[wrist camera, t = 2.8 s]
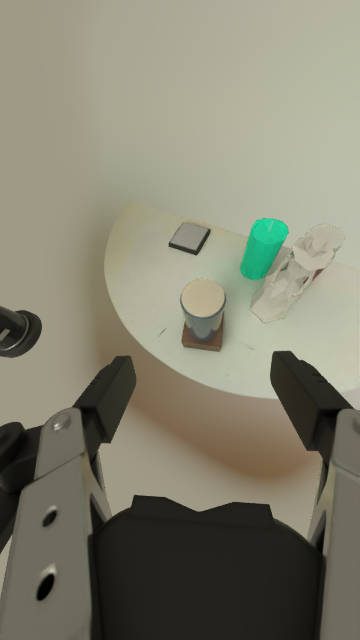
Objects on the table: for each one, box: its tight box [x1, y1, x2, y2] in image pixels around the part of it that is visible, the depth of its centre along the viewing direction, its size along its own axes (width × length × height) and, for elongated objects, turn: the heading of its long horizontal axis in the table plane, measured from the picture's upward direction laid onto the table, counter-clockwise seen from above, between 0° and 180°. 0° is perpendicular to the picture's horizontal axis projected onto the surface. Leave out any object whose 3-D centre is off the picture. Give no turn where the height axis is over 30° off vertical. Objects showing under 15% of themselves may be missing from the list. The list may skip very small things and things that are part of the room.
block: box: [182, 311, 224, 352], centre depth 34 cm, size 7×7×4 cm
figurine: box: [250, 232, 334, 323], centre depth 27 cm, size 7×8×18 cm
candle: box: [241, 218, 289, 280], centre depth 34 cm, size 6×6×12 cm
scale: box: [169, 222, 210, 255], centre depth 45 cm, size 8×8×1 cm
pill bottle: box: [280, 224, 346, 285], centre depth 32 cm, size 6×6×11 cm
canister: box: [180, 278, 226, 341], centre depth 27 cm, size 6×6×11 cm
